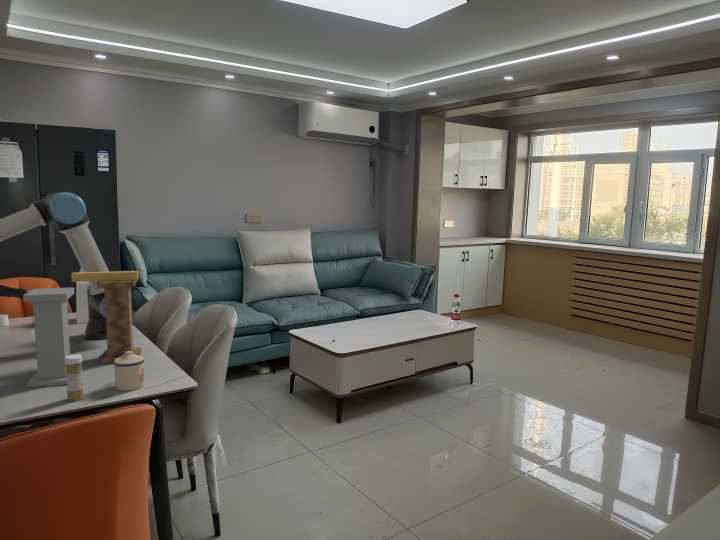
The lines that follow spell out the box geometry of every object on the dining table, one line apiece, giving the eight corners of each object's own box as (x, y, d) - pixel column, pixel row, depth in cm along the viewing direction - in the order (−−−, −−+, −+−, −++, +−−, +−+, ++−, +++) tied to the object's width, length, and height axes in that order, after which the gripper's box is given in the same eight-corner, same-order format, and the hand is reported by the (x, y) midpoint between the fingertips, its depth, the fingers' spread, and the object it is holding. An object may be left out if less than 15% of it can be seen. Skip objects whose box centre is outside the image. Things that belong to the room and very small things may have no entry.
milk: (76, 323, 249) (73, 269, 245) (77, 318, 259) (73, 266, 255) (104, 321, 255) (101, 268, 251) (103, 316, 265) (101, 265, 261)
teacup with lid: (147, 388, 169) (146, 353, 167) (116, 393, 164) (115, 357, 162) (140, 377, 179) (139, 344, 177) (111, 381, 174) (110, 347, 172)
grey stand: (27, 387, 167) (20, 295, 163) (38, 374, 179) (32, 288, 175) (73, 384, 171) (67, 294, 167) (81, 371, 183) (76, 287, 179)
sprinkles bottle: (72, 395, 161) (70, 353, 159) (87, 396, 161) (84, 354, 159) (64, 401, 157) (61, 358, 155) (78, 402, 157) (76, 358, 155)
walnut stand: (99, 364, 191) (95, 283, 187) (105, 353, 204) (101, 277, 199) (138, 361, 195) (134, 282, 191) (141, 351, 208) (138, 276, 203)
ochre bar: (71, 281, 189) (71, 273, 189) (73, 280, 192) (73, 272, 192) (137, 279, 196) (137, 272, 196) (138, 278, 199) (137, 270, 198)
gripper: (-17, 299, 196) (47, 309, 205) (-31, 295, 174) (42, 306, 183) (-12, 280, 197) (52, 290, 206) (-25, 273, 175) (47, 285, 184)
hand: (47, 297), depth 195 cm, fingers open, 13 cm apart
